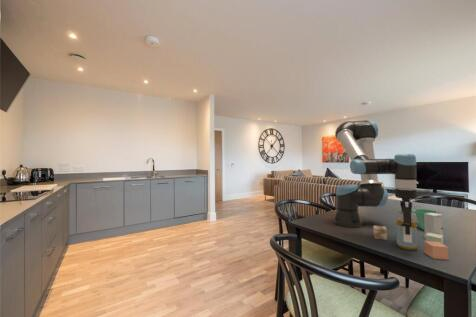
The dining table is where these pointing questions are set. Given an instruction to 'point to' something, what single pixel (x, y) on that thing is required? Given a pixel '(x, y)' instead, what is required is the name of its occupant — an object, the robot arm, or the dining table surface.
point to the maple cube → (380, 232)
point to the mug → (421, 216)
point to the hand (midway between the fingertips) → (406, 237)
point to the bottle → (400, 233)
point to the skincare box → (433, 223)
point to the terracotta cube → (436, 250)
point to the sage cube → (434, 237)
